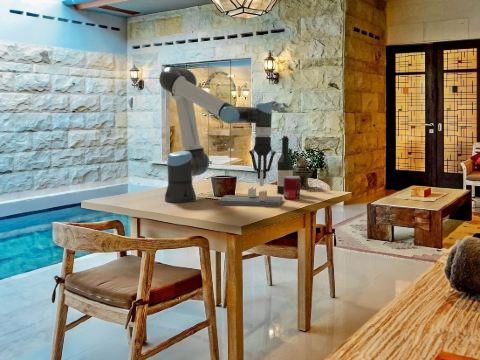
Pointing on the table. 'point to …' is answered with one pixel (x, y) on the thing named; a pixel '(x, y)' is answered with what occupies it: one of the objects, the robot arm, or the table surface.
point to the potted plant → (302, 172)
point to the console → (249, 200)
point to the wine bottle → (283, 166)
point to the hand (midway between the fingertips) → (261, 185)
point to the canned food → (291, 187)
